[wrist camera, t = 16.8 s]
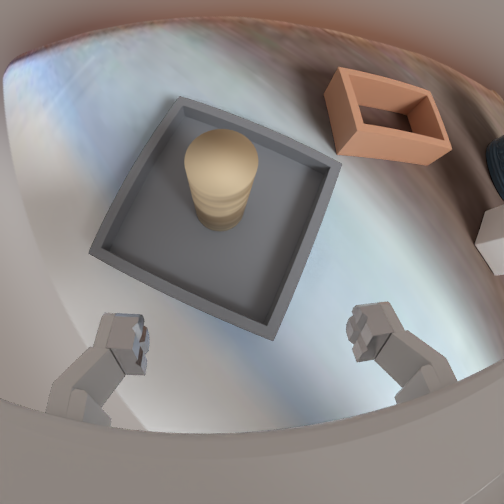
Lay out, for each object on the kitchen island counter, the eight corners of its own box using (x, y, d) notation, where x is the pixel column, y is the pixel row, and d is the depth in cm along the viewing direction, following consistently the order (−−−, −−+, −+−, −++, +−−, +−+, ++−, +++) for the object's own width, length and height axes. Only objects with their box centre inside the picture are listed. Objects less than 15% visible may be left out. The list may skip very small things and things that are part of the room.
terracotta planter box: (427, 165, 31) (452, 149, 26) (336, 154, 30) (357, 130, 24) (409, 110, 33) (429, 91, 27) (323, 94, 31) (338, 66, 26)
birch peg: (232, 239, 26) (240, 205, 16) (187, 219, 26) (171, 176, 16) (251, 197, 27) (269, 145, 17) (208, 178, 27) (205, 119, 17)
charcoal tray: (267, 336, 26) (273, 341, 23) (100, 257, 25) (88, 253, 22) (331, 175, 29) (342, 163, 26) (182, 111, 29) (179, 96, 26)
